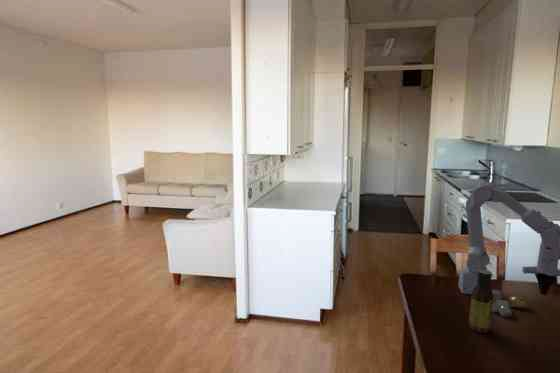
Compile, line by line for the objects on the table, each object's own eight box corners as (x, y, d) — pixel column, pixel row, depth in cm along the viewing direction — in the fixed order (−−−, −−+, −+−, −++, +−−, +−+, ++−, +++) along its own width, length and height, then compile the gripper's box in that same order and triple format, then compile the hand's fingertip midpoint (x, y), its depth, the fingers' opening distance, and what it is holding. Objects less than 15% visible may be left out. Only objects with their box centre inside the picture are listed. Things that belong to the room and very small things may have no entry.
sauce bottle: (492, 335, 122) (500, 277, 119) (471, 332, 124) (478, 275, 120) (485, 324, 129) (492, 269, 125) (465, 322, 130) (472, 267, 126)
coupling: (512, 307, 139) (512, 296, 139) (508, 306, 143) (508, 295, 143) (527, 309, 138) (527, 298, 138) (522, 307, 142) (522, 296, 142)
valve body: (493, 315, 134) (495, 304, 133) (482, 297, 148) (483, 287, 147) (511, 318, 133) (512, 306, 132) (497, 299, 147) (499, 288, 146)
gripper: (529, 260, 133) (524, 296, 135) (577, 264, 129) (571, 301, 132) (522, 253, 139) (517, 287, 142) (567, 256, 136) (561, 292, 139)
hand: (542, 293), depth 137 cm, fingers closed
